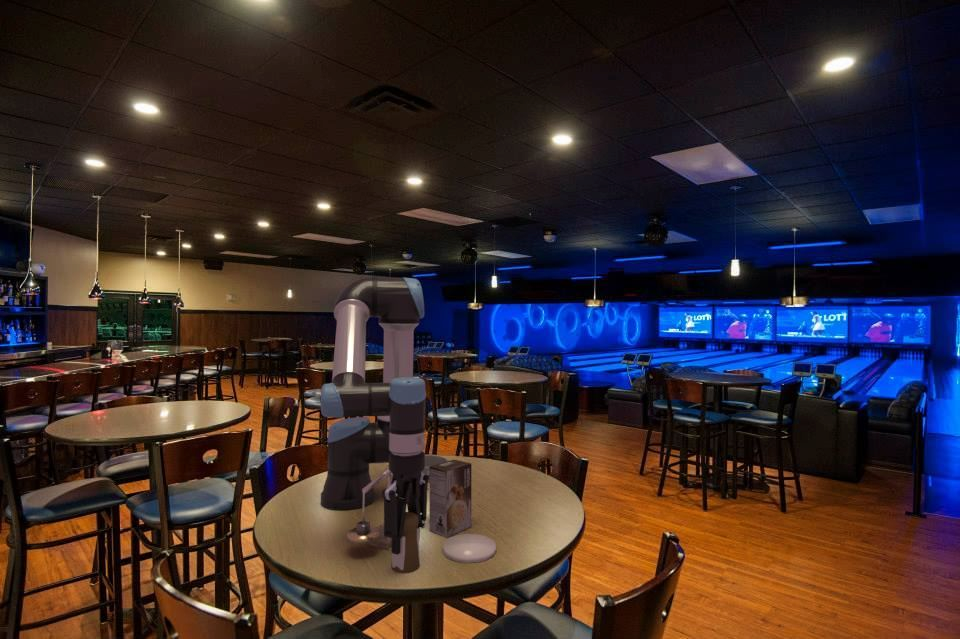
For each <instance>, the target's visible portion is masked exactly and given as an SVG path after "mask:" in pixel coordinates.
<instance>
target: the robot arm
mask: <svg viewBox="0 0 960 639" xmlns="http://www.w3.org/2000/svg"><path fill="white" fill-rule="evenodd" d="M333 316H334V319H335V320H336V330H335V339H334V340H335V344H334V353H333V365H332V366H333V367H332V377H331V382H330V383H324V384H323V385H322V386H321V390H320V412H321V415H322V416H323V417H325V418H339V419H341V420H338V421H335V422H333V423H332V424H331V425H330V426H329V427H328V432H327V440H326V442H327V474H326V475H327V476H326V479H325V482H324V485H323V489H322V491H321V493H320V505H321V506H322V507H323V508H326V509H329V510H337V511H345V510H346V511H347V510H355V509H361V508H363V492H362V489H363V488H364V487H366V486H367V485H368V484H370V483H371V482H372V478H371V475H370V465H371V464H386V463H387V464H388V465H389V470H390V471H391V473H392V474H393V477H392V481H391V486H390V487H389V488H388V487H387V488H383V489H382V490H381V494H382V495H381V496H382V499H383V524H384V536H386V537H389V538H391V539H392V542H391V548H390V550H391V553H392V554H391V557H392V558H391V565H392V567H394V568H395V567H396V566H397V567H398V568H400V570H403V569H404V559H405V537H404V536H403V528H404V521H405V513H406V512H413V513H415V514H416V515H417V516H418V520H419V523H418V527H417V528H416V536H417V545H418V553H419V554H420V539H421V536H420V535H421V534H420V532H421V531H420V530H421V529H423V528H424V527H425V525H426V524H425V523H424V522H425V521H427V512H428V509H427V508H428V491H427V485H429V483H428V480H429V475H425V474H421V471H423V470H424V468H425V455H426V453H425V452H424V450H425V448H426V447H425V446H426V445H425V444H426V443H425V442H426V440H425V439H426V437H425V434H426V433H425V432H426V427H425V426H426V398H427V392H426V381H425V380H424V379H423V378H419V377H414V376H413V375H414V332H415V328H416V327H417V326H419V324H420V319H423V318H424V317H425V301H424V294H423V288H422V285H421V282H420V280H418V279H417V278H411V277H404V276H403V277H392V276H391V277H390V276H389V277H388V276H382V277H381V276H364V277H360V278H357V279H355V280H354V281H352V282H350V283H348V284H347V285H346V286H345V287H344V289H342V290H341V292H340V293H339V295H338V296H337V298H336V300H335V302H334V306H333ZM369 318H378V325H379V326H380V327H381V328H382V329H383V372H382V373H383V377H382V380H383V381H382V382H366V347H367V346H366V345H367V344H366V343H367V342H366V340H367V339H366V338H367V337H366V336H367V332H366V331H367V322H368V320H369ZM369 417H377V421H376V422H375V421H374V422H371V419H370V418H369ZM342 418H345V419H342ZM375 500H376V491H375V488H374V487H373V488H372V489H371V490H369V491H368V492H367V493H365V507H367V506H369V505H370V504H372V503H373V502H374V501H375ZM397 531H398V532H397Z"/></svg>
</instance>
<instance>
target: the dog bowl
mask: <svg viewBox="0 0 960 639" xmlns="http://www.w3.org/2000/svg"><path fill="white" fill-rule="evenodd" d="M447 461H450V459H448V458H447V457H446V456H443V455H439V454H425V468H424V470H423V471H421V474H425V475H429V480H428V484H430V468H429V467H430V466H433V465H436V464H440V463H443V462H447Z"/></svg>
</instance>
